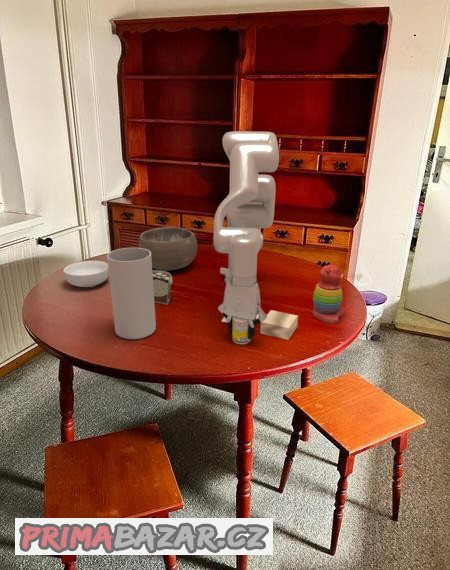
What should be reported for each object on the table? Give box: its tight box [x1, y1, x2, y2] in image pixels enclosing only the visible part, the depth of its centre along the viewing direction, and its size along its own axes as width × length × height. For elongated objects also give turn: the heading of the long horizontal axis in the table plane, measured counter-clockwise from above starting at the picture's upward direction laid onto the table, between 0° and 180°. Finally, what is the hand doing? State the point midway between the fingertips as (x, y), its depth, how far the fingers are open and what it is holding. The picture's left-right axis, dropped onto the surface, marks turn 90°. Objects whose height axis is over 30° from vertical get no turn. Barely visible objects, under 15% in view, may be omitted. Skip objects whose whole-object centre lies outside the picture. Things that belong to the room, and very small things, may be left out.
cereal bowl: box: [62, 260, 109, 288], centre depth 167 cm, size 17×17×7 cm
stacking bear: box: [311, 262, 346, 325], centre depth 141 cm, size 11×10×18 cm
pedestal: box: [259, 309, 299, 341], centre depth 134 cm, size 9×9×4 cm
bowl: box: [138, 226, 198, 272], centre depth 183 cm, size 24×24×15 cm
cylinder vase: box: [106, 247, 157, 340], centre depth 129 cm, size 12×12×25 cm
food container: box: [152, 269, 173, 305], centre depth 154 cm, size 12×6×10 cm, turn 65°
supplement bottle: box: [231, 317, 251, 345], centre depth 127 cm, size 6×6×10 cm
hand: (241, 334), depth 128 cm, fingers closed on supplement bottle, 5 cm apart
